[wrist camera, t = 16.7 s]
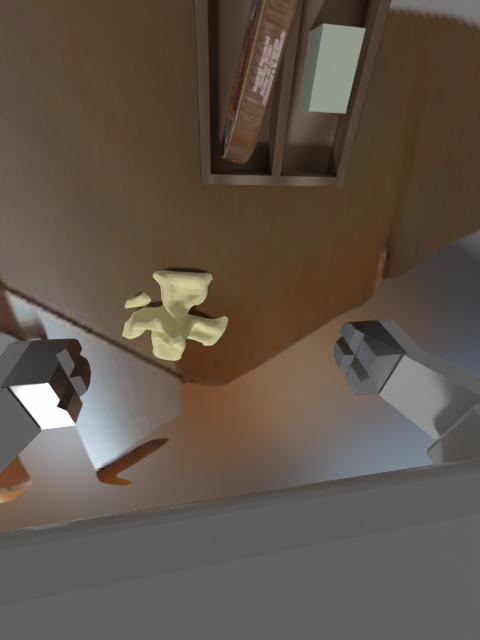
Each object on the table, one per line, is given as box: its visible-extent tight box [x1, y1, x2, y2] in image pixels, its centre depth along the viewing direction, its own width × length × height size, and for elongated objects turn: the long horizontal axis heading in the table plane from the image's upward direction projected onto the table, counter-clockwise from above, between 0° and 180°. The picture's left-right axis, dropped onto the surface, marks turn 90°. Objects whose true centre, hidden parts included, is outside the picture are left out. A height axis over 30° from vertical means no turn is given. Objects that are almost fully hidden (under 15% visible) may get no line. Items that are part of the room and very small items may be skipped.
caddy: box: [194, 0, 391, 187], centre depth 26 cm, size 17×20×4 cm
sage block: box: [298, 23, 366, 113], centre depth 27 cm, size 4×6×4 cm, turn 177°
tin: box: [221, 0, 300, 164], centre depth 23 cm, size 15×3×8 cm, turn 163°
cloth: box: [122, 270, 228, 361], centre depth 44 cm, size 22×19×6 cm
